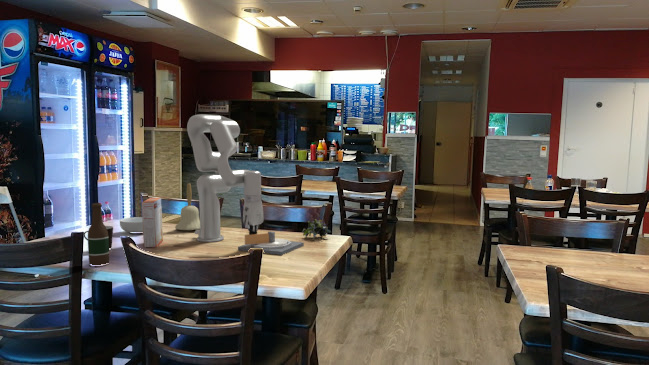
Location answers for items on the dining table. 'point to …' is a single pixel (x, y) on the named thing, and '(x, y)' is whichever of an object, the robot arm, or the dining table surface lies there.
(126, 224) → the cereal bowl
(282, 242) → the dial
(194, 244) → the dining table surface
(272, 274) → the dining table surface
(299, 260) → the dining table surface
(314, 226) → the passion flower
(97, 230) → the beer bottle
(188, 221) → the handbell
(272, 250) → the dial base
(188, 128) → the robot arm
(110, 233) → the coffee mug
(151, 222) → the cracker box
